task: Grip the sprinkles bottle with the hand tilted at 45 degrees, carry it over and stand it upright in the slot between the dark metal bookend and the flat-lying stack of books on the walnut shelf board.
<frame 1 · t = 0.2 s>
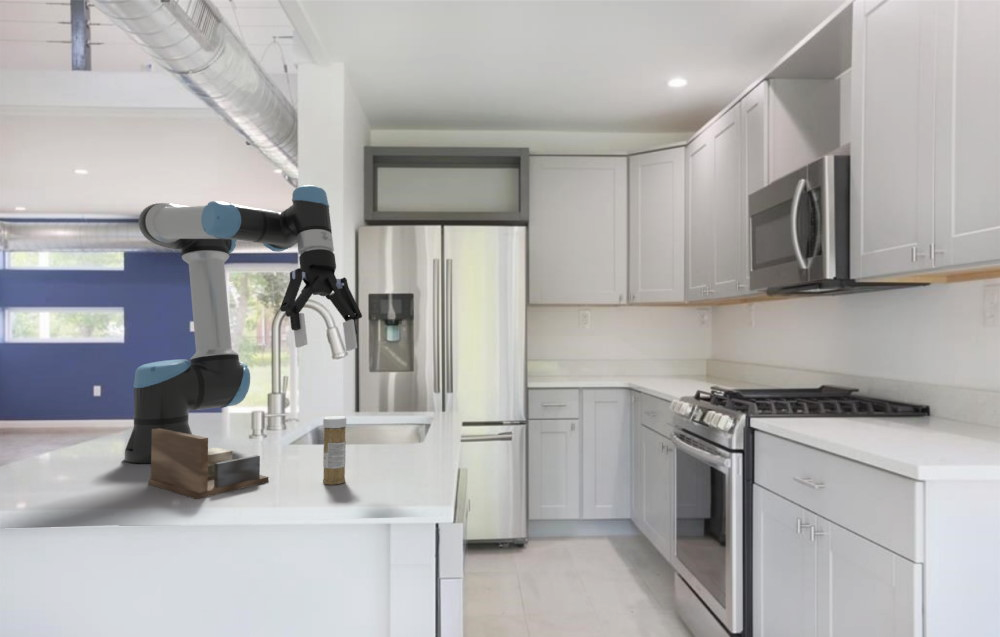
hand: (327, 347, 125), 28 cm above the countertop, tool tilted 15°, fingers open, 13 cm apart
sprinkles bottle: (334, 483, 122), on the countertop
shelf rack: (224, 483, 120), on the countertop
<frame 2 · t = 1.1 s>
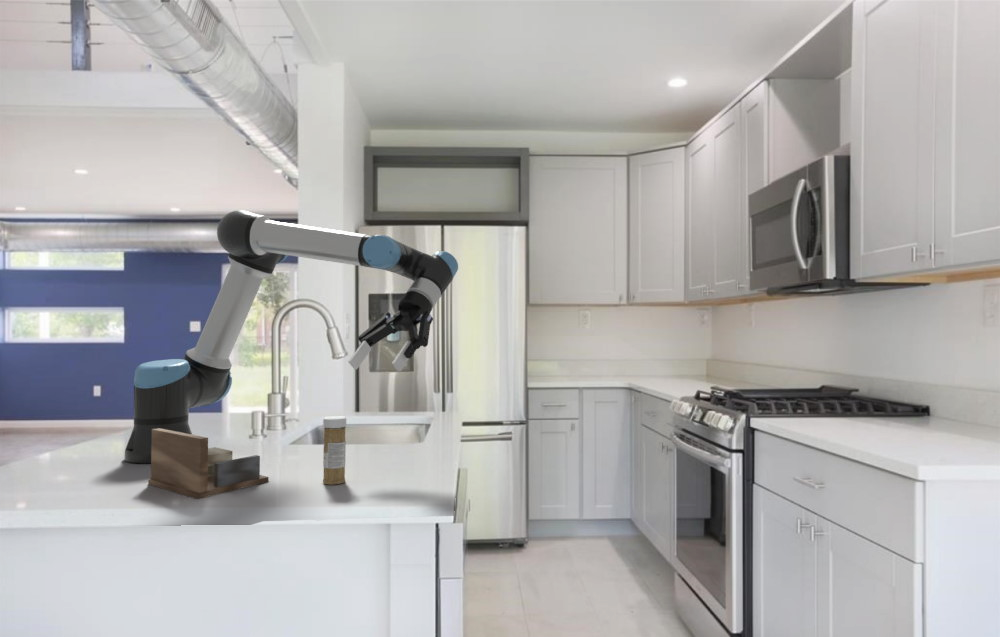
hand: (373, 366, 131), 23 cm above the countertop, tool tilted 45°, fingers open, 13 cm apart
nothing on the countertop moved.
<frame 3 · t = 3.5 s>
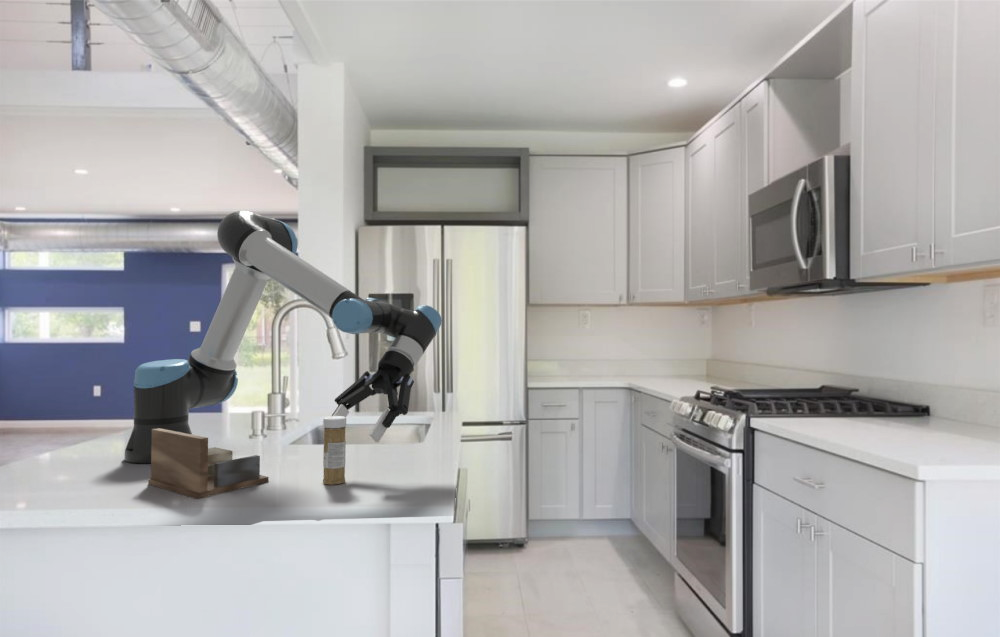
hand: (350, 435, 124), 9 cm above the countertop, tool tilted 45°, fingers open, 13 cm apart
nothing on the countertop moved.
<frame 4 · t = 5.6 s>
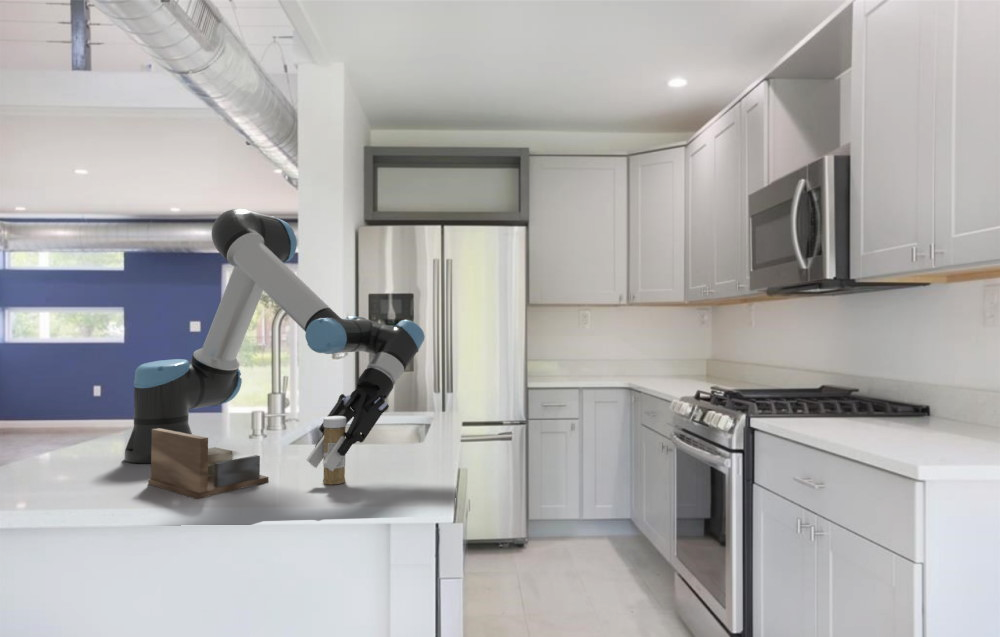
hand: (319, 465, 119), 4 cm above the countertop, tool tilted 45°, fingers closed on sprinkles bottle, 4 cm apart
sprinkles bottle: (334, 483, 122), on the countertop, touching gripper
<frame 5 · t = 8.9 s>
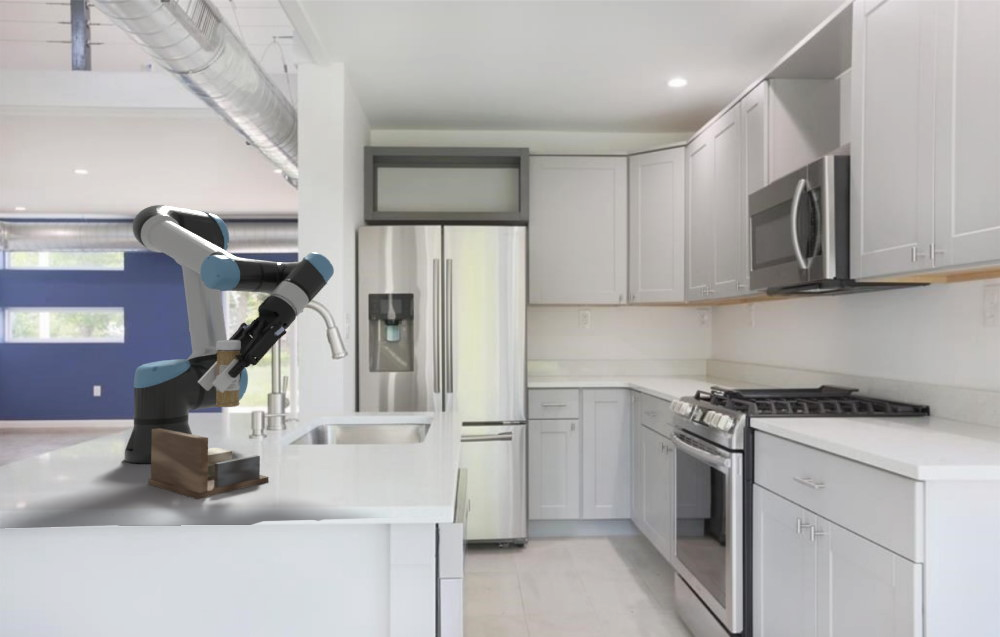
hand: (210, 387, 118), 20 cm above the countertop, tool tilted 45°, fingers closed on sprinkles bottle, 4 cm apart
sprinkles bottle: (227, 407, 121), point 15 cm above the countertop, touching gripper
when the fingers open (6 cm above the countertop, at t = 12.5 s): sprinkles bottle drops 1 cm, point 1 cm above the countertop.
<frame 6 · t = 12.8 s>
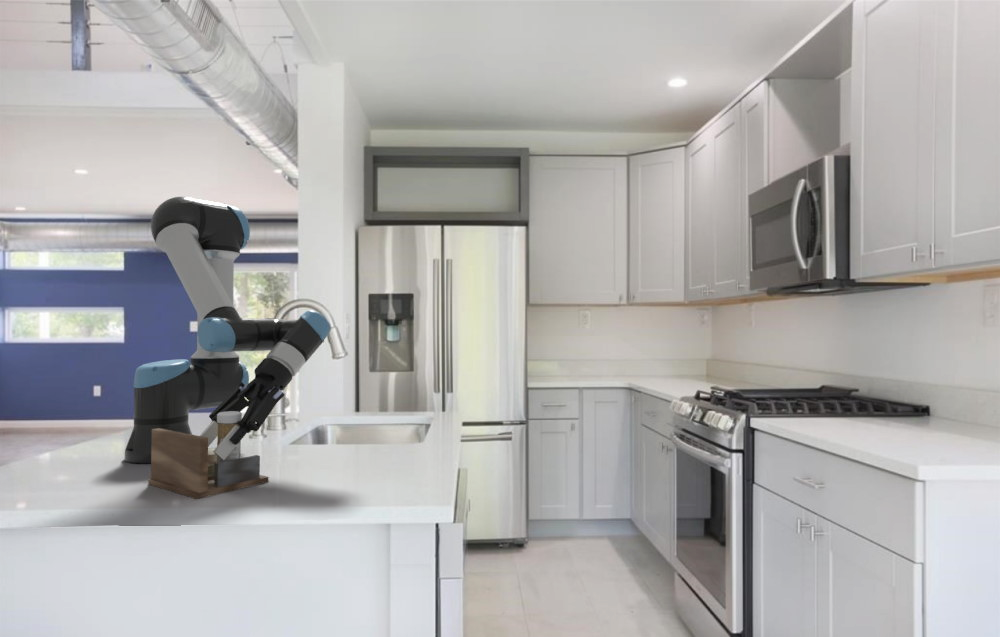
hand: (207, 453, 118), 7 cm above the countertop, tool tilted 45°, fingers open, 7 cm apart
sprinkles bottle: (228, 479, 120), point 1 cm above the countertop, touching gripper
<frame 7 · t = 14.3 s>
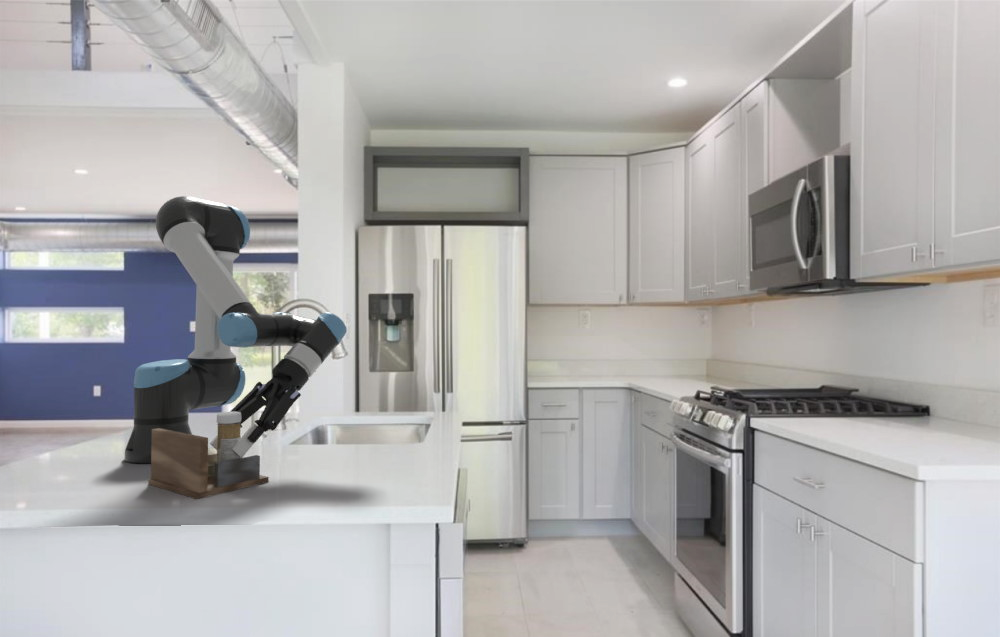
hand: (225, 450, 121), 7 cm above the countertop, tool tilted 45°, fingers open, 7 cm apart
sprinkles bottle: (228, 480, 120), point 1 cm above the countertop, touching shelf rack
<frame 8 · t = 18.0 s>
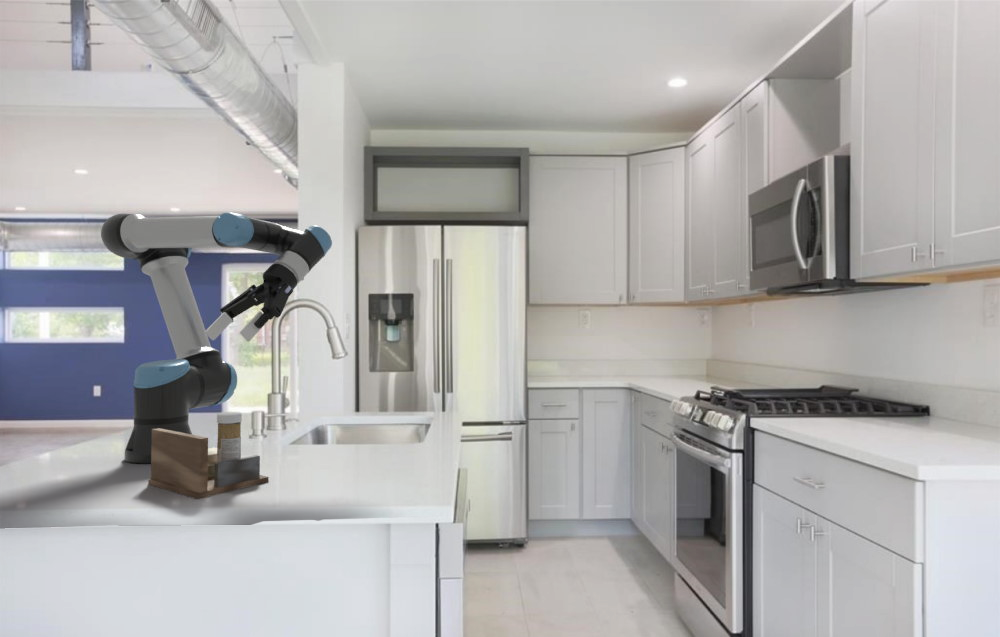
hand: (226, 336, 130), 30 cm above the countertop, tool tilted 45°, fingers open, 13 cm apart
nothing on the countertop moved.
at the end: sprinkles bottle 1.1 cm off-centre on the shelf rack, point 0.8 cm above the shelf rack's base; sprinkles bottle tilted 1°; the gripper is holding nothing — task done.
